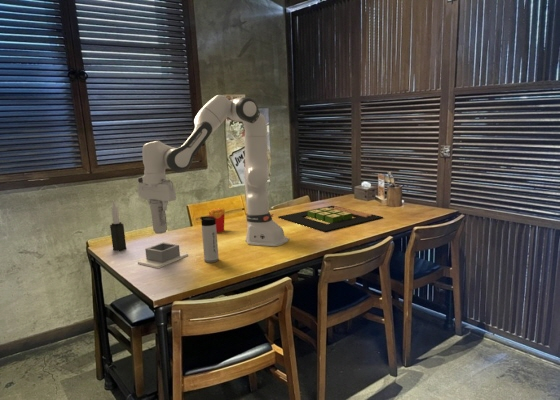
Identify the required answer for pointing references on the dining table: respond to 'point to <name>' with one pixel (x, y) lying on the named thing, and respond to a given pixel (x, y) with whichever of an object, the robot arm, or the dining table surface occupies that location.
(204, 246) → the travel mug
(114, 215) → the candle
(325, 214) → the sushi set
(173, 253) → the housing
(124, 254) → the dining table surface
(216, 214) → the french fries
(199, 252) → the dining table surface
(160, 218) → the energy drink can
